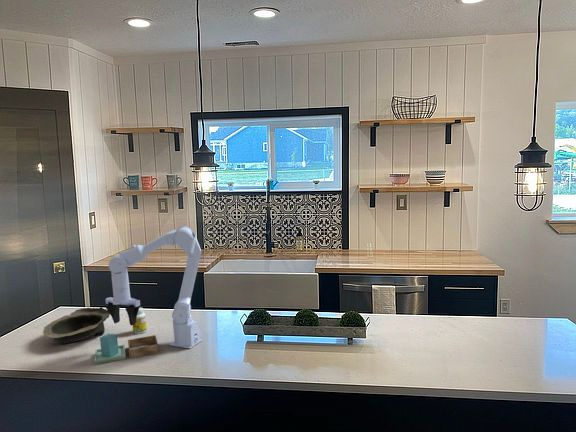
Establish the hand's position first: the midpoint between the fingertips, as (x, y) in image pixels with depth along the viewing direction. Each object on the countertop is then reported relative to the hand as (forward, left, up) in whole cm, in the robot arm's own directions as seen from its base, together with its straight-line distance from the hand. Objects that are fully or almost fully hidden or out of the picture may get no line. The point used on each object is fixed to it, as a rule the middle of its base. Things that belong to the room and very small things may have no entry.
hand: (124, 323), depth 165 cm
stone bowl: (+28, -2, -10) cm, 29 cm away
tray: (+2, +7, -10) cm, 12 cm away
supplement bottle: (+8, -15, -10) cm, 20 cm away
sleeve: (-6, -1, -10) cm, 12 cm away
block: (+2, +7, -9) cm, 12 cm away
